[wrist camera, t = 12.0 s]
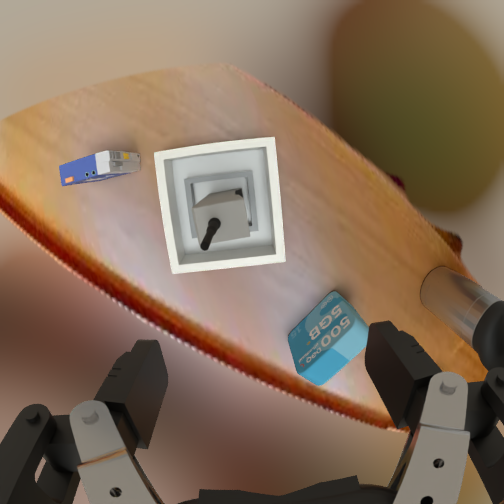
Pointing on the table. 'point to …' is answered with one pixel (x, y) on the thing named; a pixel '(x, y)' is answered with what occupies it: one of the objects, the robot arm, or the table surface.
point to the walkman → (99, 167)
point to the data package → (327, 339)
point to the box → (216, 180)
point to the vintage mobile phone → (220, 217)
